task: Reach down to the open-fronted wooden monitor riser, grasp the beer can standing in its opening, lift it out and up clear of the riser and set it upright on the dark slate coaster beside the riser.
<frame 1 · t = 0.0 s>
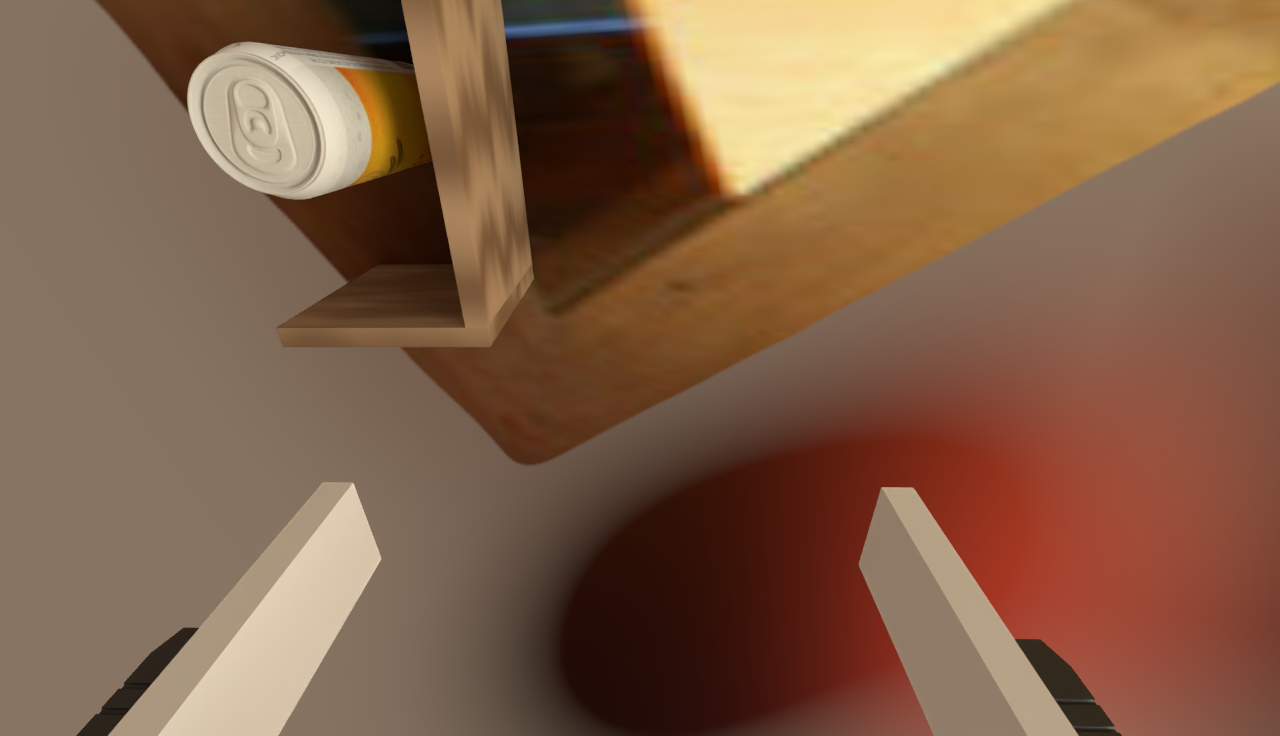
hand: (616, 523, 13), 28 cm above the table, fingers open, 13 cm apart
wooden monitor riser: (425, 114, 33), on the table
beer can: (412, 114, 34), on the table
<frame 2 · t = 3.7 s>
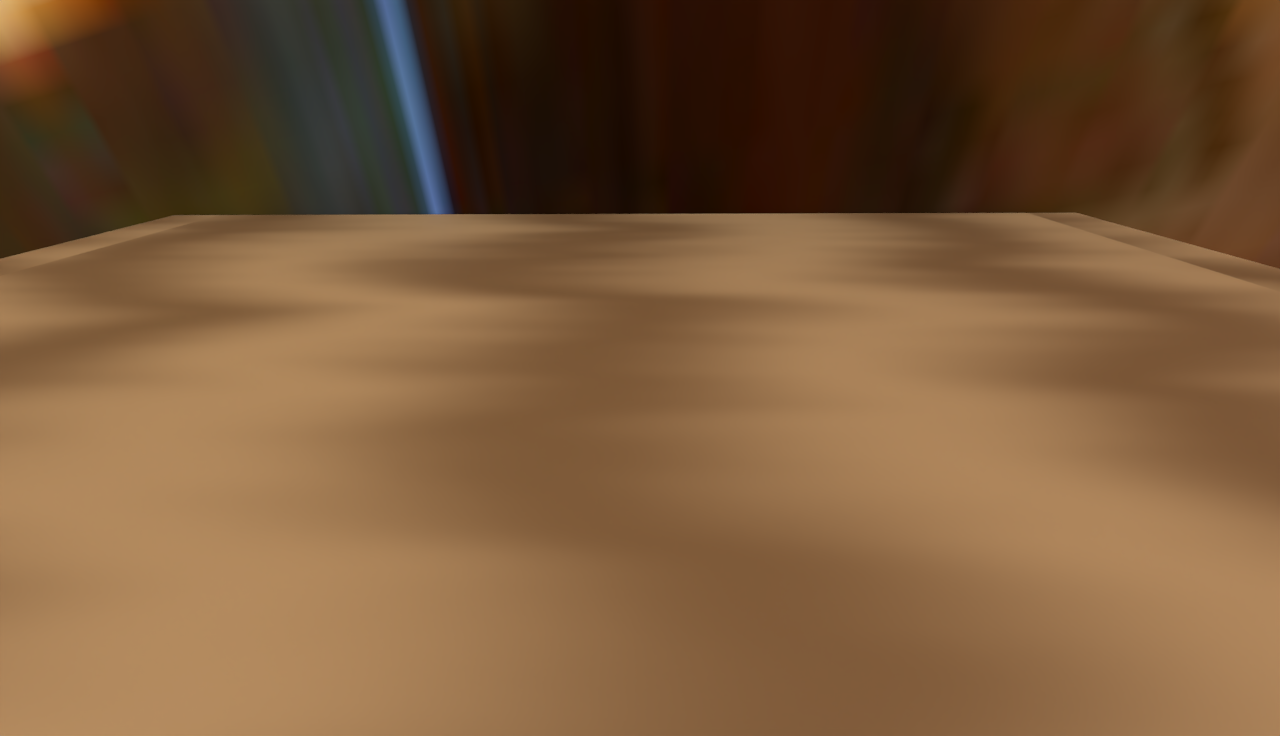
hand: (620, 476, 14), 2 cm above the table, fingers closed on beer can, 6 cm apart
wooden monitor riser: (622, 410, 16), on the table
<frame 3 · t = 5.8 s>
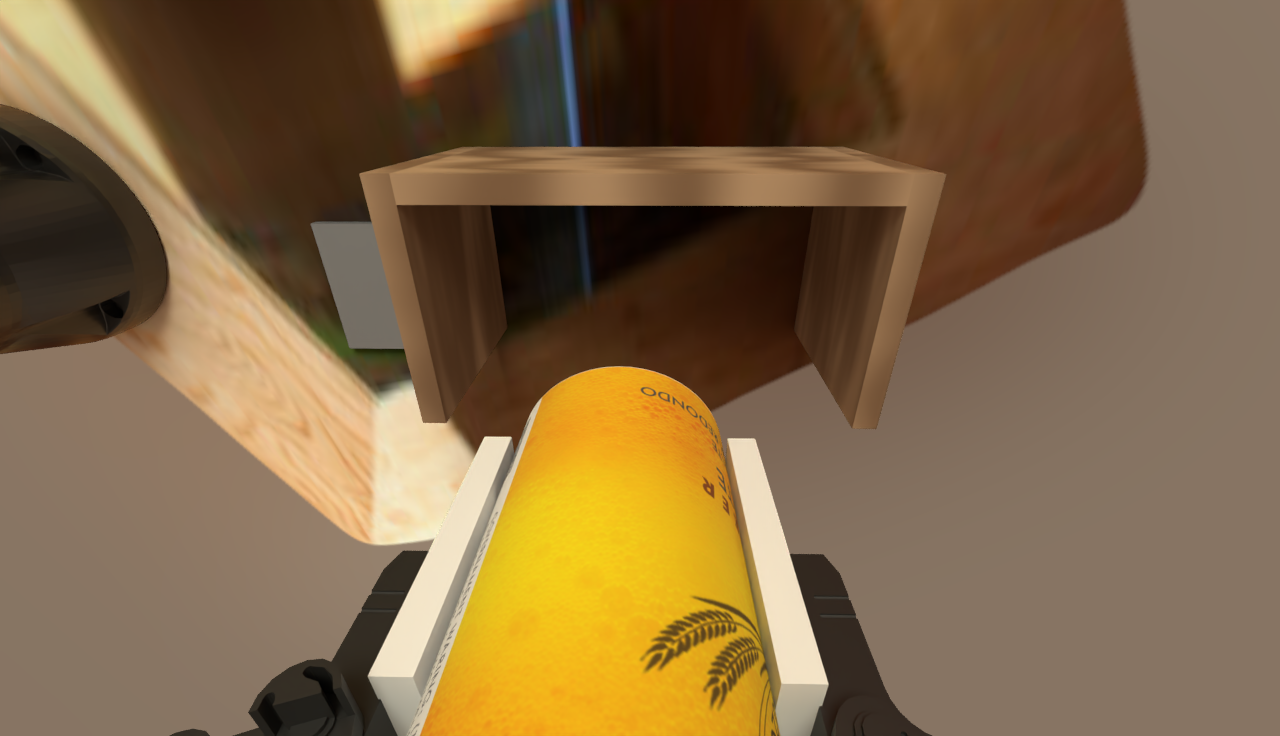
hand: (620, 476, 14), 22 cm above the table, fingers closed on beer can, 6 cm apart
slate coaster: (399, 287, 35), on the table
wooden monitor riser: (650, 245, 33), on the table
beer can: (623, 432, 16), point 20 cm above the table, touching gripper
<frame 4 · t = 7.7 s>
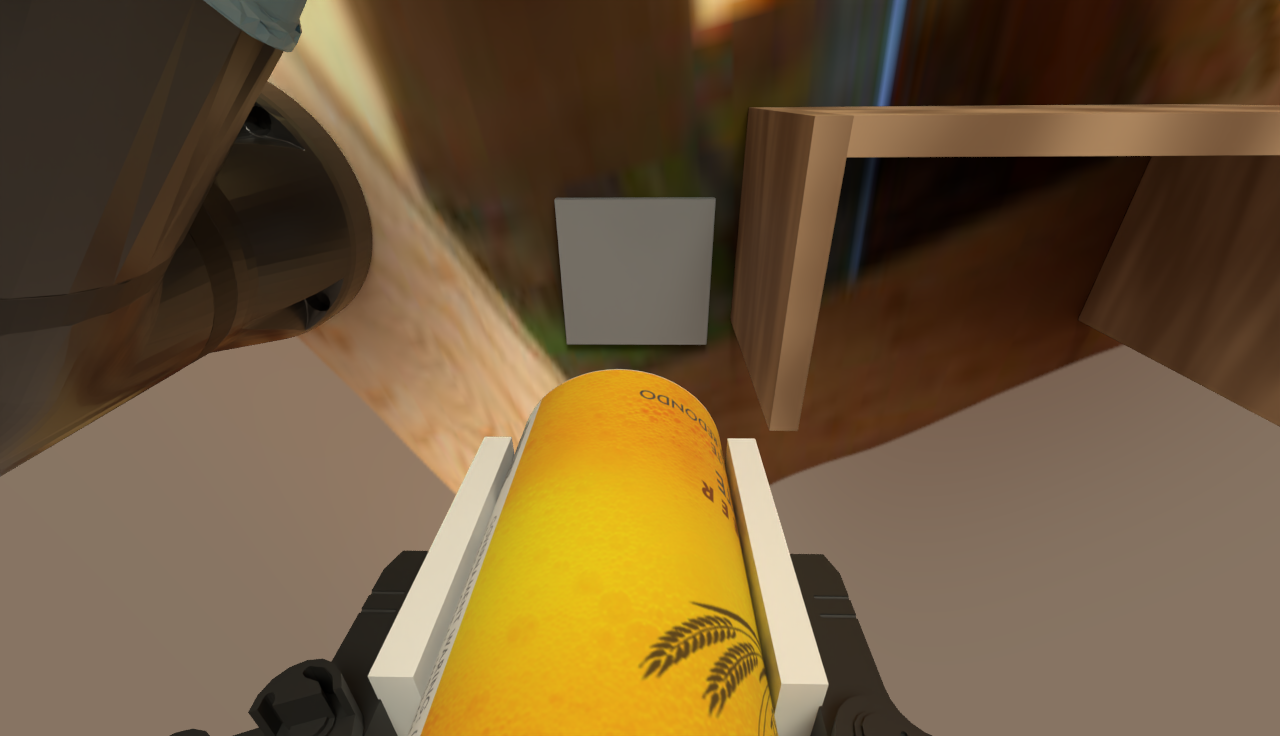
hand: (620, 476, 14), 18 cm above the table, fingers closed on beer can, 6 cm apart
slate coaster: (635, 274, 30), on the table
wooden monitor riser: (939, 223, 29), on the table
beer can: (623, 435, 16), point 16 cm above the table, touching gripper
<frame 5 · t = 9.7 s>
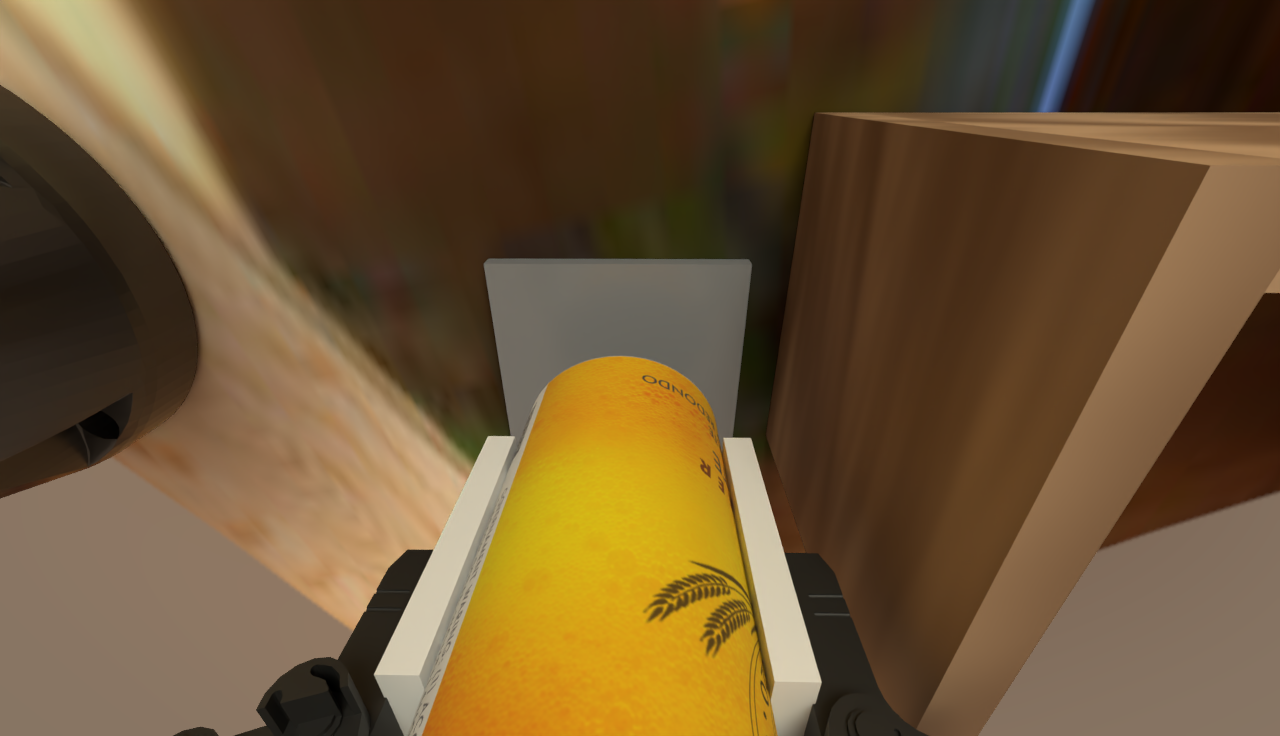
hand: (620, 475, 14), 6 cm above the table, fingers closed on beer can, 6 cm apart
slate coaster: (620, 372, 19), on the table
wooden monitor riser: (1109, 301, 18), on the table
beer can: (624, 421, 17), point 3 cm above the table, touching gripper
when the fingers open (6 cm above the table, at t = 11.5 s): beer can stays where it is, resting on slate coaster.
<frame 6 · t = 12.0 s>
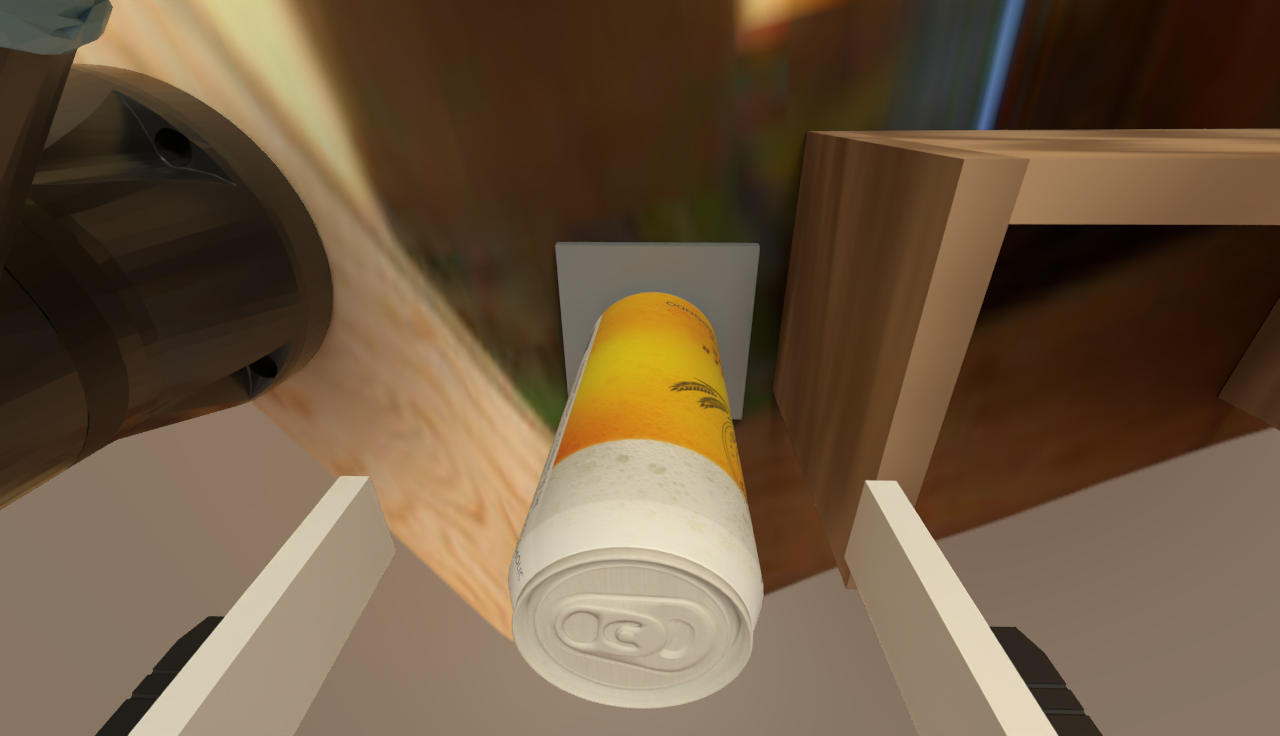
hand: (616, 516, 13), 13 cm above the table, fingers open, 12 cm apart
slate coaster: (656, 334, 24), on the table
wooden monitor riser: (1047, 278, 22), on the table
beer can: (653, 344, 24), resting on slate coaster
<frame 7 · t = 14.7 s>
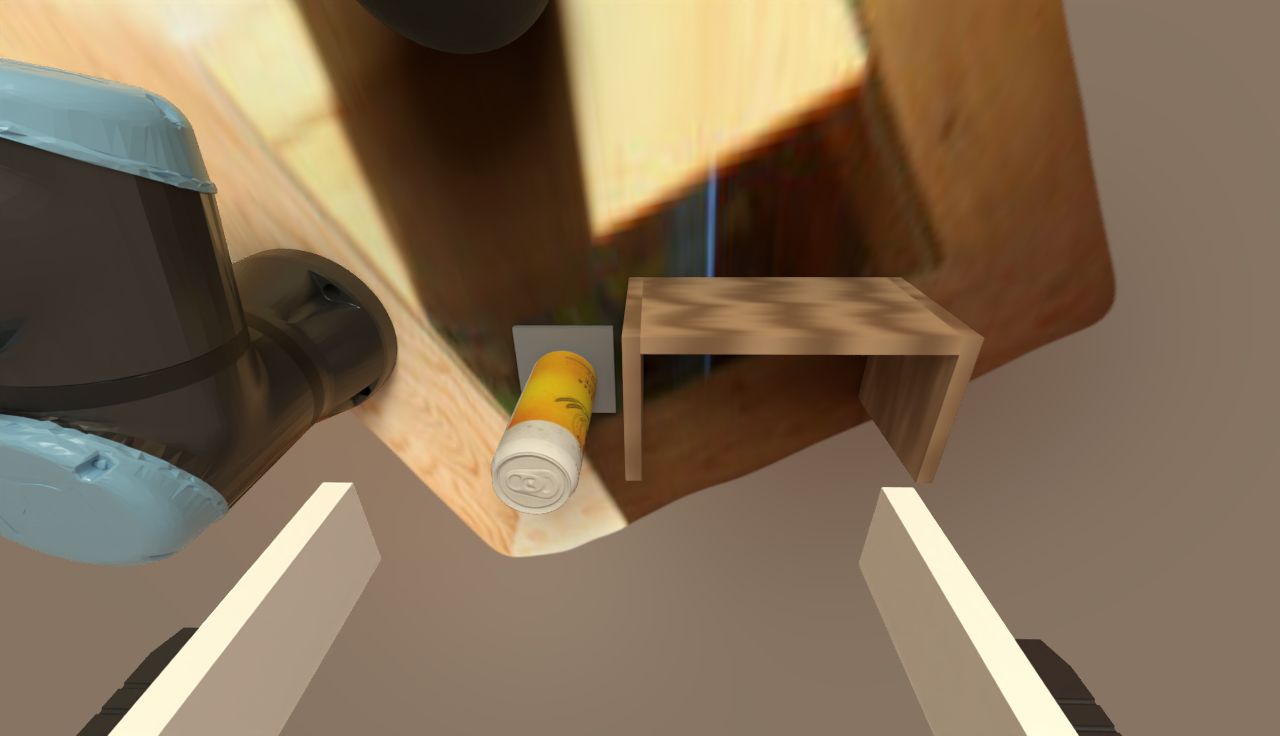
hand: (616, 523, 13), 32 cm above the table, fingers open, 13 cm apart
slate coaster: (567, 369, 47), on the table
wooden monitor riser: (756, 341, 45), on the table
beer can: (565, 374, 47), resting on slate coaster
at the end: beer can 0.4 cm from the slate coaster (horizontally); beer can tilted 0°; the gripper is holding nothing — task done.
